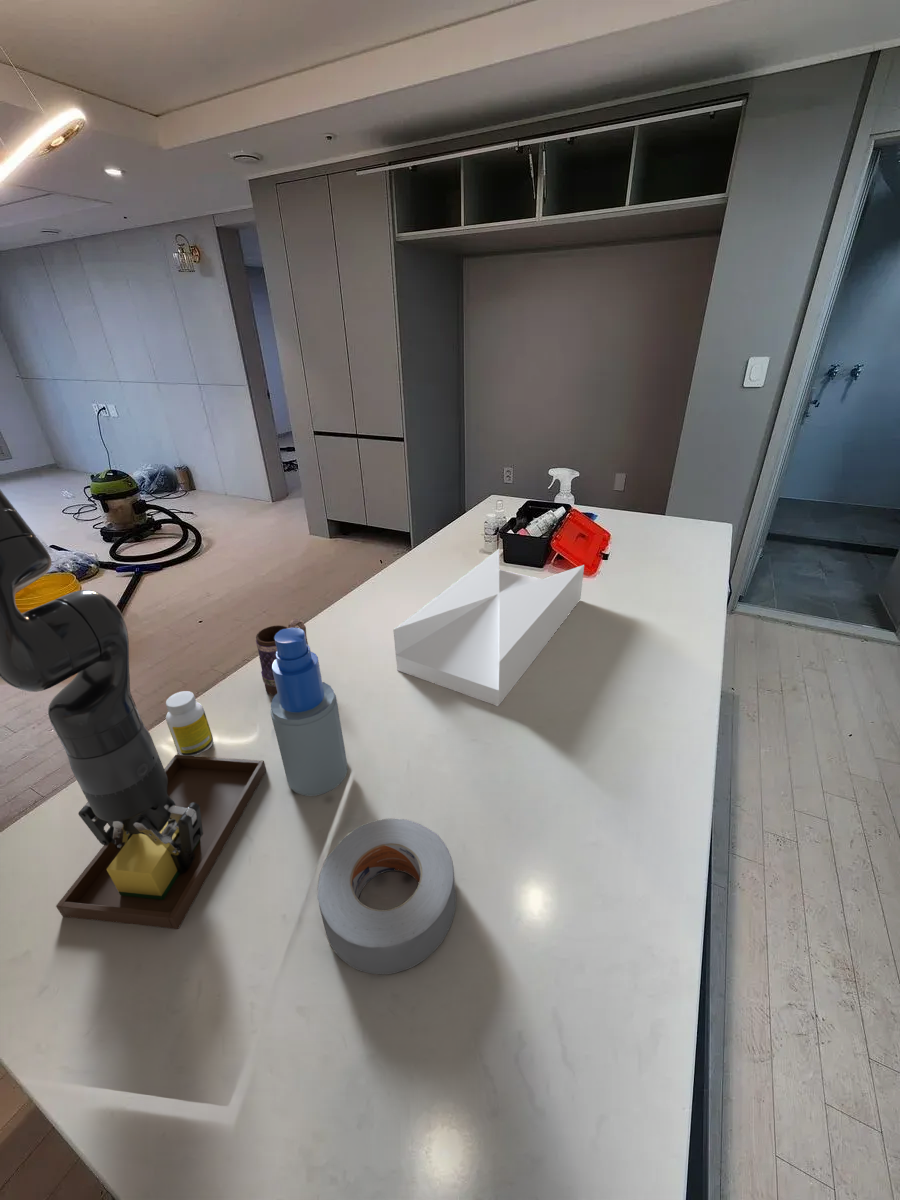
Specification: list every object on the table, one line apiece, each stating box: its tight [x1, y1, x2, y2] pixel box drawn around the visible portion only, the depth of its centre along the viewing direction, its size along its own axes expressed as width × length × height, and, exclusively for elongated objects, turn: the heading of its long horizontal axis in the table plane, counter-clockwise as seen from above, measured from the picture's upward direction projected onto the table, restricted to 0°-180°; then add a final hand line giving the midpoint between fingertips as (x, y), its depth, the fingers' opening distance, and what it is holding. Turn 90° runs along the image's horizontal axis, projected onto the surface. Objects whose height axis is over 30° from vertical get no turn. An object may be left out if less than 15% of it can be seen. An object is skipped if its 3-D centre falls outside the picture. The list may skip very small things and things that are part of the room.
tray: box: [55, 754, 267, 930], centre depth 67 cm, size 14×23×3 cm, turn 174°
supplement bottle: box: [165, 690, 214, 756], centre depth 80 cm, size 5×5×10 cm
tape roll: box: [317, 817, 457, 975], centre depth 58 cm, size 15×15×5 cm
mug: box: [255, 618, 309, 697], centre depth 95 cm, size 10×7×12 cm
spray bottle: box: [270, 627, 349, 797], centre depth 71 cm, size 9×9×25 cm
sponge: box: [106, 822, 200, 900], centre depth 62 cm, size 6×8×5 cm
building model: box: [392, 548, 585, 707], centre depth 109 cm, size 45×22×10 cm, turn 149°
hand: (163, 863), depth 64 cm, fingers closed on sponge, 5 cm apart
